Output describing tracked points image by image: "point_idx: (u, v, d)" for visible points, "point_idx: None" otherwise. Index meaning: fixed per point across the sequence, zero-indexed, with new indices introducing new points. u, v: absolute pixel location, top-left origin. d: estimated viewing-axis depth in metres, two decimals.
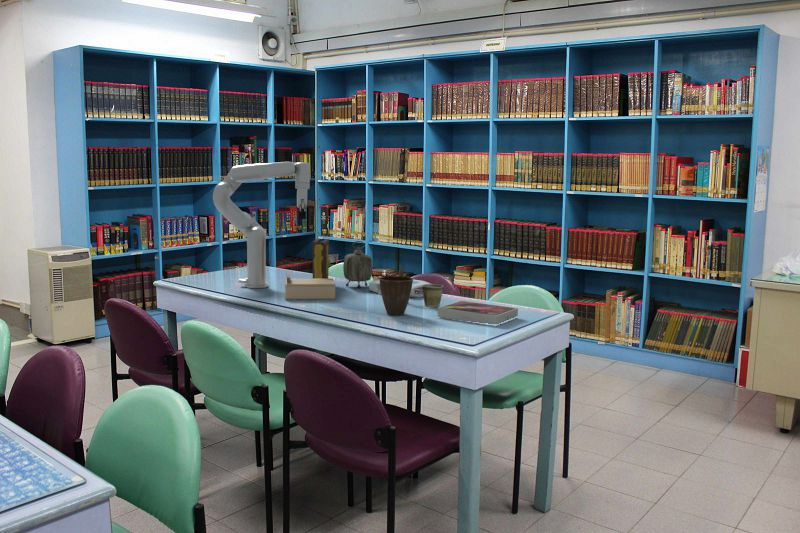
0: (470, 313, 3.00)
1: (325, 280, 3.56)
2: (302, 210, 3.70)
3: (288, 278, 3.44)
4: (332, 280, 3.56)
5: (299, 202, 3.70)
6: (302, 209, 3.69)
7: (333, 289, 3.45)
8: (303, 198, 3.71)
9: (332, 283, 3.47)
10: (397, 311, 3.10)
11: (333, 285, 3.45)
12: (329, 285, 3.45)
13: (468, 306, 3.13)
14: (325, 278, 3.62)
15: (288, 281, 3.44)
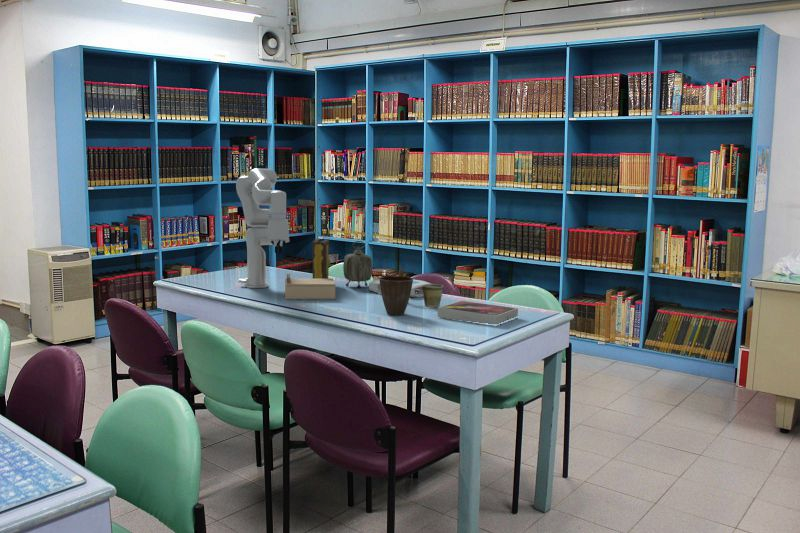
0: (470, 313, 3.00)
1: (325, 280, 3.56)
2: None
3: (288, 278, 3.44)
4: (332, 280, 3.56)
5: (288, 234, 3.45)
6: (283, 243, 3.47)
7: (333, 289, 3.45)
8: None
9: (332, 283, 3.47)
10: (397, 311, 3.10)
11: (333, 285, 3.45)
12: (329, 285, 3.45)
13: (468, 306, 3.13)
14: (325, 278, 3.62)
15: (288, 281, 3.44)
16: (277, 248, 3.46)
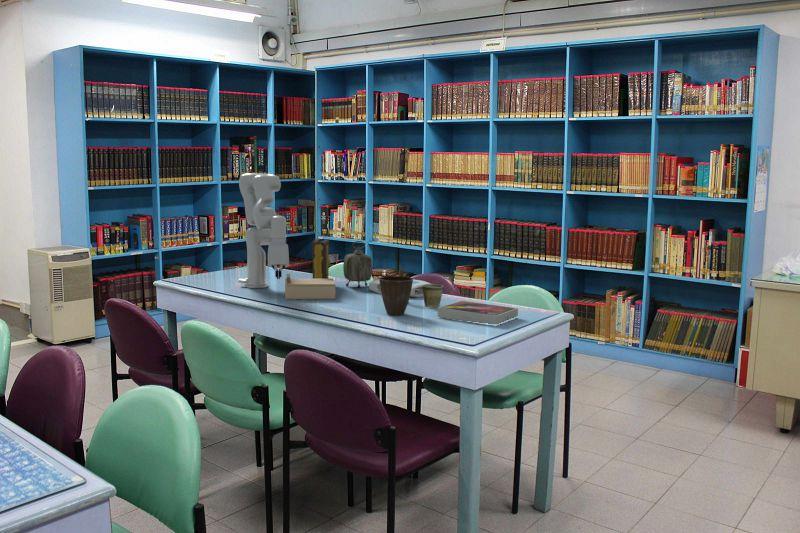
0: (470, 313, 3.00)
1: (325, 280, 3.56)
2: (282, 269, 3.49)
3: (288, 278, 3.44)
4: (332, 280, 3.56)
5: (288, 259, 3.47)
6: (283, 268, 3.49)
7: (333, 289, 3.45)
8: None
9: (332, 283, 3.47)
10: (397, 311, 3.10)
11: (333, 285, 3.45)
12: (329, 285, 3.45)
13: (468, 306, 3.13)
14: (325, 278, 3.62)
15: (288, 281, 3.44)
16: None
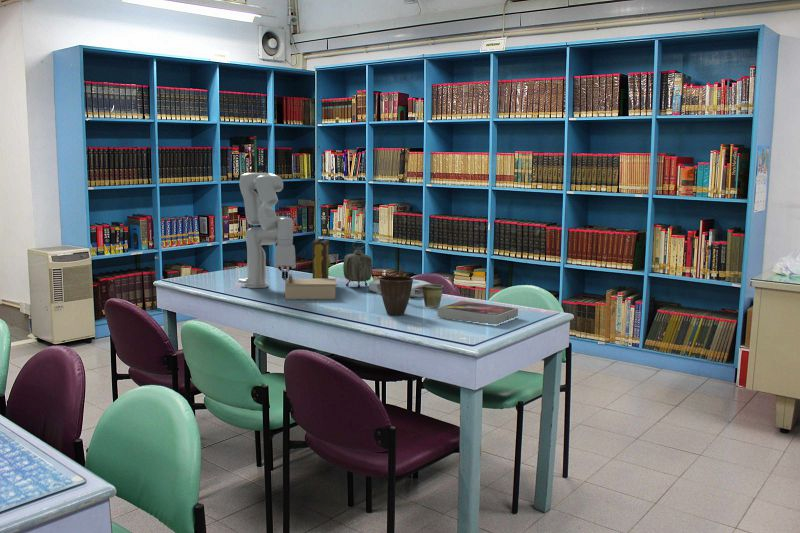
0: (470, 313, 3.00)
1: (327, 280, 3.56)
2: (289, 270, 3.49)
3: (290, 278, 3.44)
4: (334, 280, 3.56)
5: (295, 260, 3.48)
6: (290, 269, 3.49)
7: (333, 289, 3.45)
8: None
9: (334, 283, 3.47)
10: (397, 311, 3.10)
11: (335, 285, 3.45)
12: (331, 285, 3.45)
13: (468, 306, 3.13)
14: None
15: (290, 281, 3.44)
16: (284, 274, 3.48)
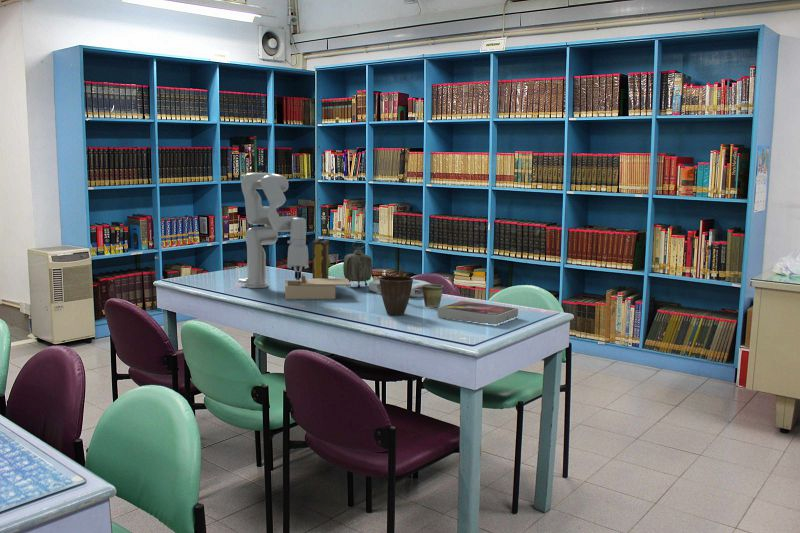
0: (470, 313, 3.00)
1: (340, 280, 3.57)
2: (302, 270, 3.50)
3: (303, 278, 3.45)
4: (347, 280, 3.57)
5: (308, 260, 3.49)
6: (303, 269, 3.50)
7: (333, 289, 3.45)
8: (307, 258, 3.51)
9: (347, 283, 3.48)
10: (397, 311, 3.10)
11: (348, 285, 3.46)
12: (344, 285, 3.46)
13: (468, 306, 3.13)
14: None
15: (303, 281, 3.45)
16: (297, 274, 3.49)
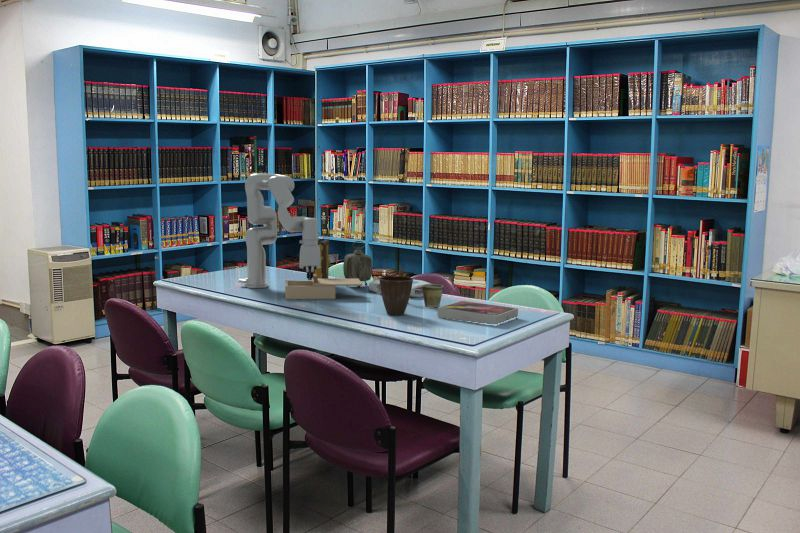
0: (470, 313, 3.00)
1: (351, 280, 3.58)
2: (313, 270, 3.51)
3: (315, 278, 3.46)
4: (358, 280, 3.58)
5: None
6: (314, 269, 3.51)
7: (333, 289, 3.45)
8: None
9: (359, 283, 3.49)
10: (397, 311, 3.10)
11: (360, 285, 3.47)
12: (356, 285, 3.47)
13: (468, 306, 3.13)
14: None
15: (315, 281, 3.46)
16: (309, 274, 3.50)
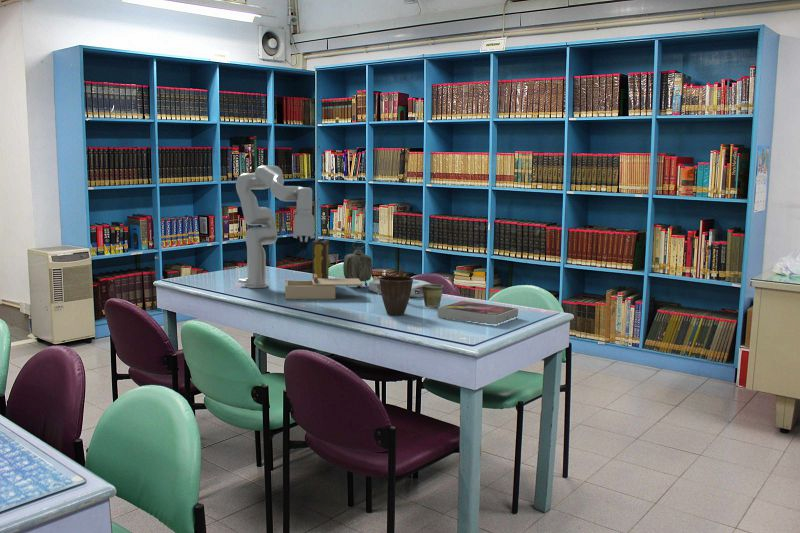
0: (470, 313, 3.00)
1: (351, 280, 3.58)
2: (307, 240, 3.50)
3: (315, 278, 3.46)
4: (358, 280, 3.58)
5: None
6: (308, 239, 3.50)
7: (333, 289, 3.45)
8: None
9: (359, 283, 3.49)
10: (397, 311, 3.10)
11: (360, 285, 3.47)
12: (356, 285, 3.47)
13: (468, 306, 3.13)
14: None
15: (315, 281, 3.46)
16: (303, 244, 3.49)
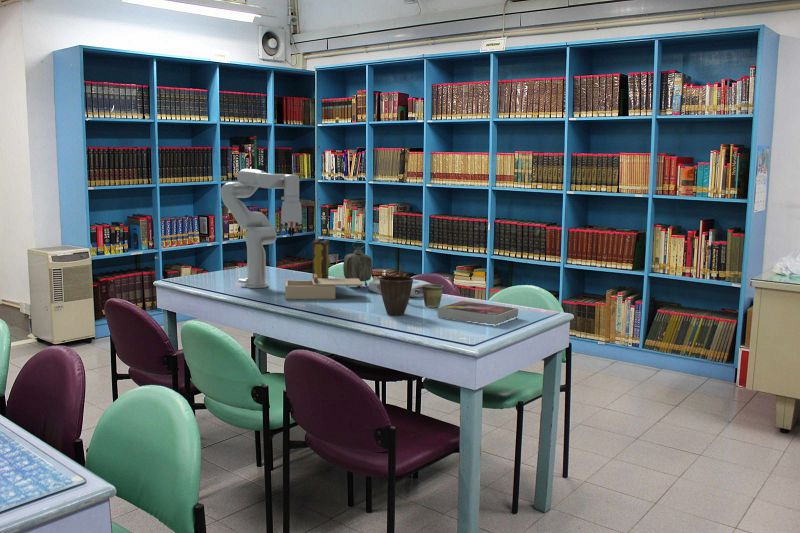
0: (470, 313, 3.00)
1: (351, 280, 3.58)
2: (295, 226, 3.59)
3: (315, 278, 3.46)
4: (358, 280, 3.58)
5: (301, 216, 3.57)
6: (296, 225, 3.59)
7: (333, 289, 3.45)
8: None
9: (359, 283, 3.49)
10: (397, 311, 3.10)
11: (360, 285, 3.47)
12: (356, 285, 3.47)
13: (468, 306, 3.13)
14: None
15: (315, 281, 3.46)
16: None
